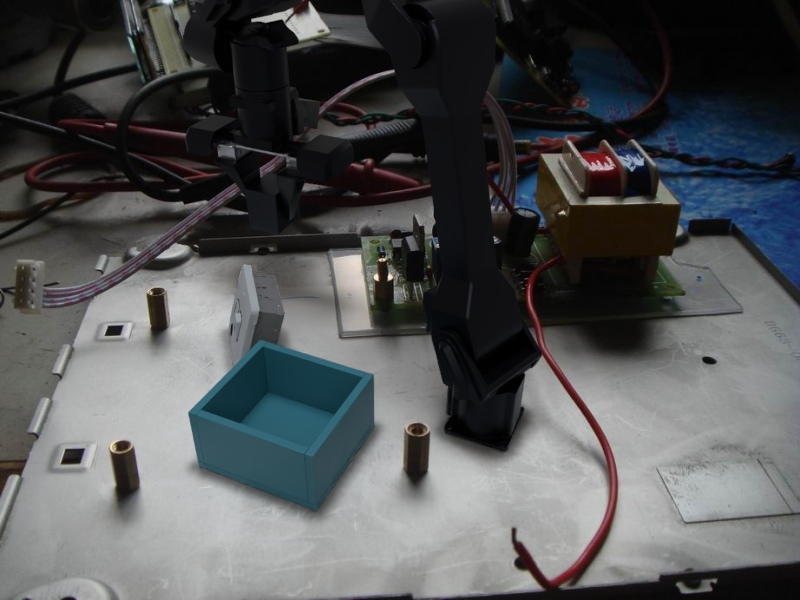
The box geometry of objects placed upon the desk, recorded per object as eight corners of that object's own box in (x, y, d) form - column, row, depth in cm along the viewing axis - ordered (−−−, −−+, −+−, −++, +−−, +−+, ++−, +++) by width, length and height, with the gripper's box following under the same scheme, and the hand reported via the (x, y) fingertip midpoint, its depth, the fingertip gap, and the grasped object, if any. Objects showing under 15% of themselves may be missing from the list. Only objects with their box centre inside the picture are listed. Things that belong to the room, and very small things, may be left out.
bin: (374, 426, 74) (374, 374, 70) (316, 511, 66) (312, 456, 62) (266, 390, 78) (260, 339, 75) (198, 466, 70) (187, 412, 66)
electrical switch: (227, 331, 87) (226, 262, 82) (272, 328, 88) (274, 260, 83) (235, 383, 80) (234, 311, 74) (283, 379, 81) (286, 308, 76)
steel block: (300, 216, 90) (298, 178, 87) (278, 235, 86) (275, 195, 83) (272, 209, 91) (268, 172, 88) (249, 227, 87) (244, 189, 85)
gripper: (374, 73, 82) (376, 201, 91) (232, 52, 89) (246, 173, 97) (325, 105, 74) (332, 243, 83) (172, 79, 80) (193, 209, 89)
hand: (274, 214), depth 88 cm, fingers closed on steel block, 4 cm apart
